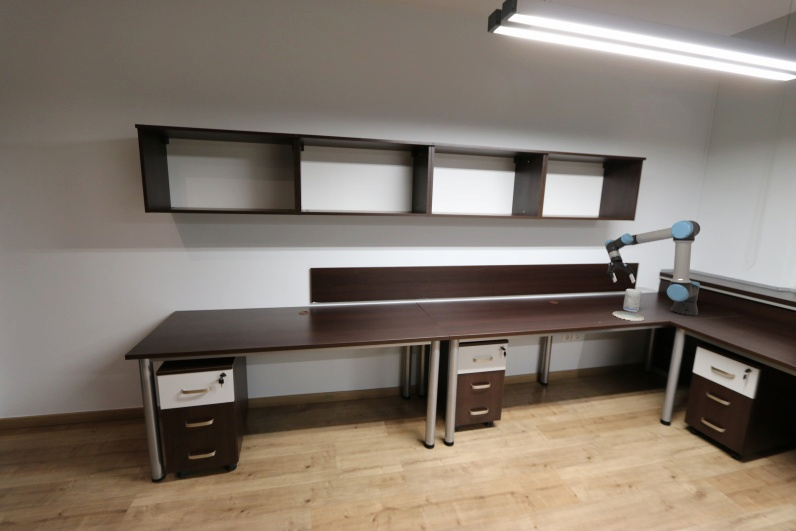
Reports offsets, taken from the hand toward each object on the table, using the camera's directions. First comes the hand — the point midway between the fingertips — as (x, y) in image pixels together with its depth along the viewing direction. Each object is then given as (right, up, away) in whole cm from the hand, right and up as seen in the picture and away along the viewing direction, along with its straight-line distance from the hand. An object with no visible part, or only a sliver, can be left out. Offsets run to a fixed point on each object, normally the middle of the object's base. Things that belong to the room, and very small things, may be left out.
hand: (624, 281), depth 271 cm
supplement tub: (0, -20, -7) cm, 21 cm away
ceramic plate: (-12, -22, -24) cm, 35 cm away
